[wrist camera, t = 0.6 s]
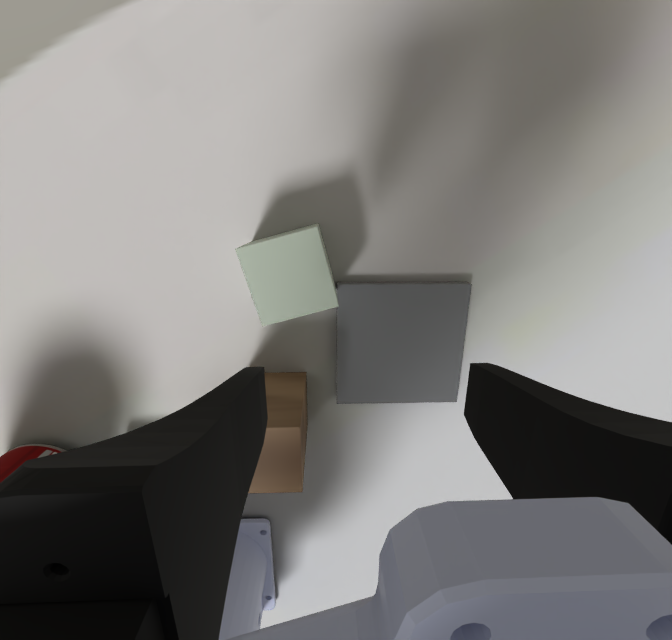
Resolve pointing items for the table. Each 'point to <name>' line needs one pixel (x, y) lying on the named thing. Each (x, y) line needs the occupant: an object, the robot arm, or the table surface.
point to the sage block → (288, 275)
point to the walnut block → (283, 435)
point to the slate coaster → (400, 341)
